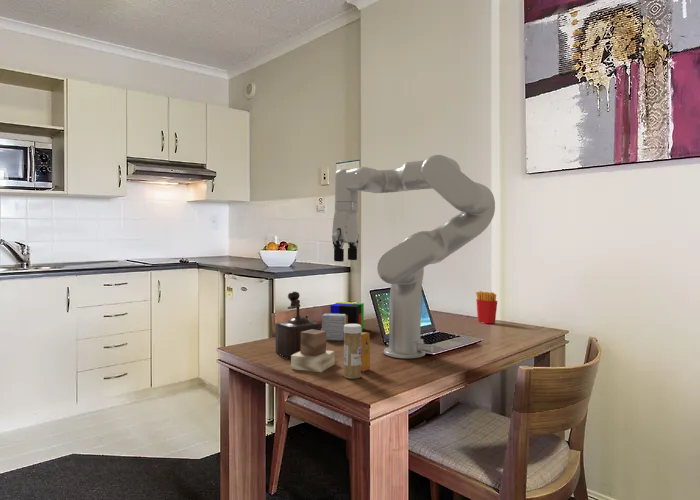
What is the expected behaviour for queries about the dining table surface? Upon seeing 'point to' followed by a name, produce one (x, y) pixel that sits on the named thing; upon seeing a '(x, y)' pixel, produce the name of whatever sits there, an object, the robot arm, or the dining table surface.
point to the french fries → (486, 307)
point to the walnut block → (313, 342)
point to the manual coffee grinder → (292, 329)
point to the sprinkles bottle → (352, 351)
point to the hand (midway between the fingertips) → (345, 260)
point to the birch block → (312, 361)
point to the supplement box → (365, 351)
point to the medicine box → (334, 326)
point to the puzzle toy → (350, 312)
